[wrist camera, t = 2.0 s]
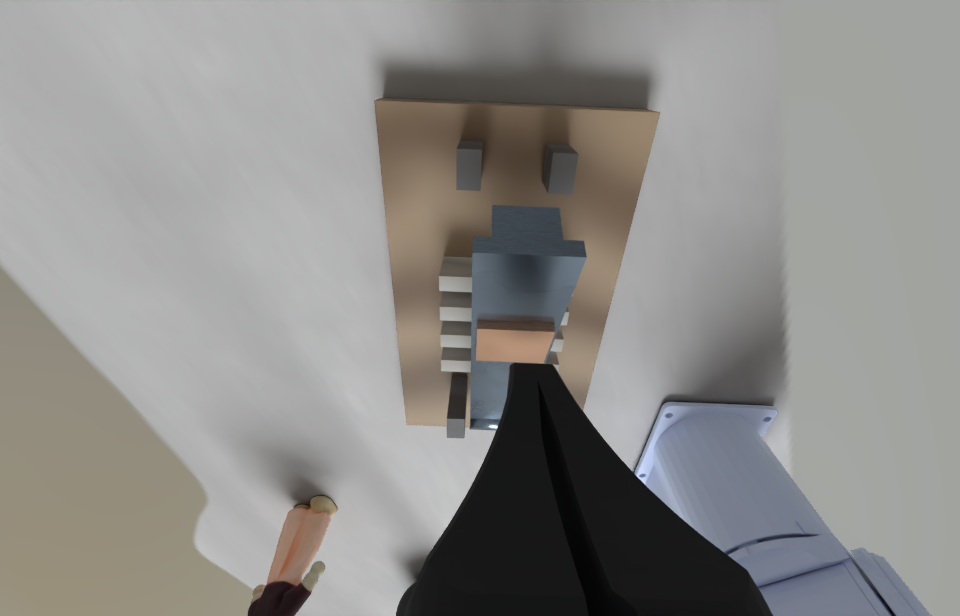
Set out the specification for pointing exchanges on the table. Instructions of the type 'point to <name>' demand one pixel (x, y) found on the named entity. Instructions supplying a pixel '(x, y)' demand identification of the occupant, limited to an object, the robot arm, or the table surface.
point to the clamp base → (467, 212)
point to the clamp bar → (517, 299)
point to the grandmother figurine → (294, 560)
